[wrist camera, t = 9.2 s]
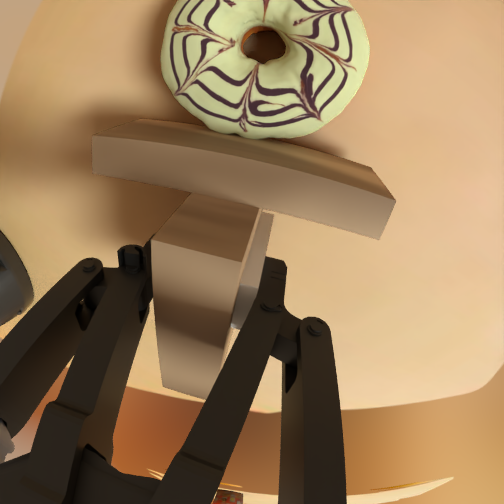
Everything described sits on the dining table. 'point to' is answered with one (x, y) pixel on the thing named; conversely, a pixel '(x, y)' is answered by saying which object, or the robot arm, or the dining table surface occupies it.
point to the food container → (228, 497)
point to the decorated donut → (264, 75)
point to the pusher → (225, 224)
